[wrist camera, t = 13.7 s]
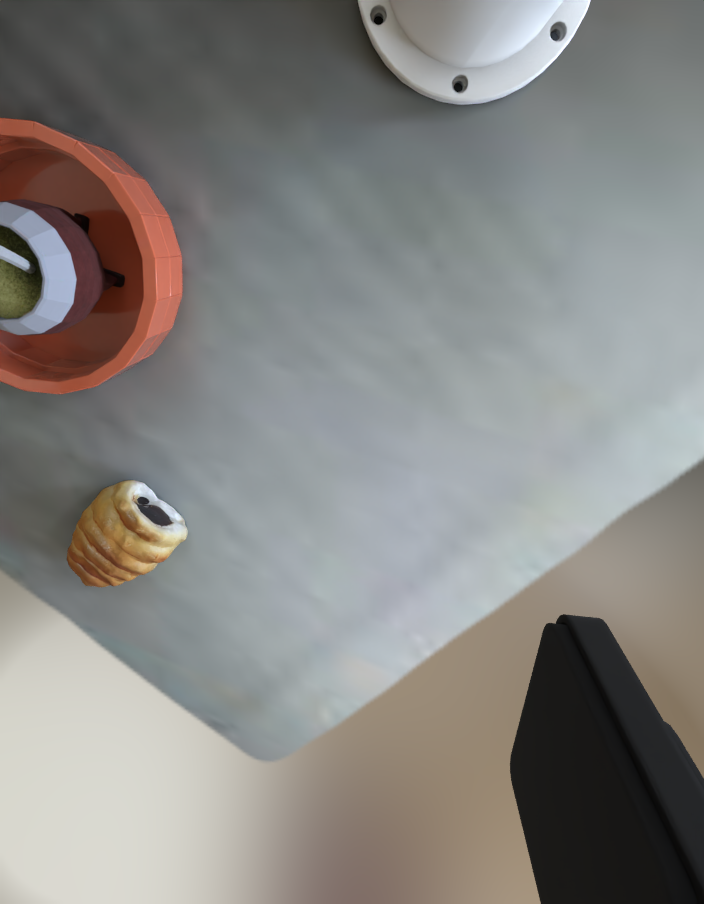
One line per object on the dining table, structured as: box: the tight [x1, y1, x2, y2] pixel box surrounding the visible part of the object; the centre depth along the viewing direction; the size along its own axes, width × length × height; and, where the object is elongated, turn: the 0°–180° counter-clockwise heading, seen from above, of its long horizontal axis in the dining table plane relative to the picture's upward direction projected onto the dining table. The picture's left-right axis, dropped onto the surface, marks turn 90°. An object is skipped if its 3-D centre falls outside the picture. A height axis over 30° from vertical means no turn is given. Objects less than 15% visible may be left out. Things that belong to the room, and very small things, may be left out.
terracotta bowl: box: [0, 118, 182, 394], centre depth 34 cm, size 15×15×5 cm
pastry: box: [67, 480, 187, 587], centre depth 41 cm, size 9×7×4 cm
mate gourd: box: [0, 199, 125, 336], centre depth 28 cm, size 8×8×15 cm
